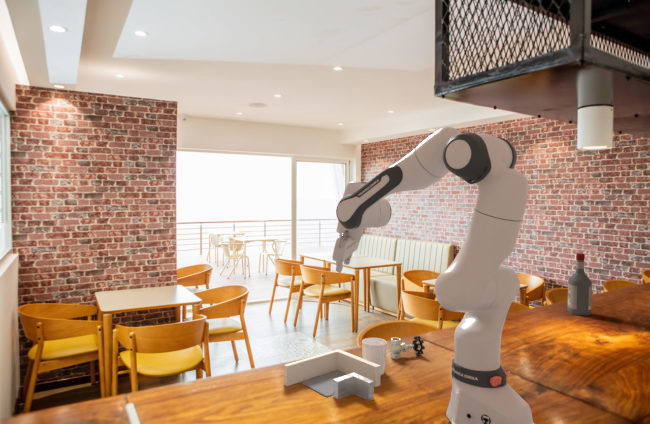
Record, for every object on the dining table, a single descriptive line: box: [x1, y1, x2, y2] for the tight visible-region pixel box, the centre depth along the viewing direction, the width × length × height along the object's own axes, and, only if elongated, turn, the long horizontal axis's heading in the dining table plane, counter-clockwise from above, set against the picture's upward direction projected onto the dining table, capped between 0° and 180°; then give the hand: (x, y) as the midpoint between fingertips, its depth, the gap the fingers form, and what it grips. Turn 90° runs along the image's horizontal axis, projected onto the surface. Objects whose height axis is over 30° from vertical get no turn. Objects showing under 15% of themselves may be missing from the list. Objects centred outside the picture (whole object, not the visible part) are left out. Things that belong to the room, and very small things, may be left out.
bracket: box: [332, 372, 375, 402], centre depth 121 cm, size 8×8×5 cm
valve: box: [389, 335, 426, 360], centre depth 155 cm, size 7×7×12 cm
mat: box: [300, 370, 347, 398], centre depth 131 cm, size 12×15×1 cm
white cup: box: [361, 337, 388, 376], centre depth 140 cm, size 8×8×10 cm
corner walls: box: [283, 348, 382, 388], centre depth 130 cm, size 18×22×6 cm
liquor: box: [566, 252, 593, 317], centre depth 218 cm, size 9×9×30 cm
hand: (342, 267), depth 147 cm, fingers open, 8 cm apart
